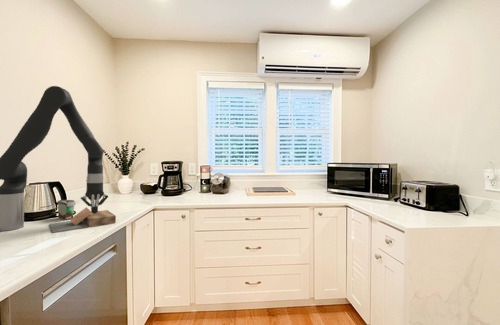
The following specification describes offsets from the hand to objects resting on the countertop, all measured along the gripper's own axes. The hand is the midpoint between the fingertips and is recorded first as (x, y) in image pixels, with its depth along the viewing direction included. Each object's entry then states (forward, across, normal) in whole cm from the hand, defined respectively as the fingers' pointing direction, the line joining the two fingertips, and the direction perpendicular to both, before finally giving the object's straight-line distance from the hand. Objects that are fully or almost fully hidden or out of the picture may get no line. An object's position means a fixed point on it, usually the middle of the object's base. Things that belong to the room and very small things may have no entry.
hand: (94, 213), depth 125 cm
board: (+5, +2, 0) cm, 5 cm away
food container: (+5, -9, +19) cm, 21 cm away
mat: (+5, -11, 0) cm, 12 cm away
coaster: (+2, -5, 0) cm, 5 cm away
